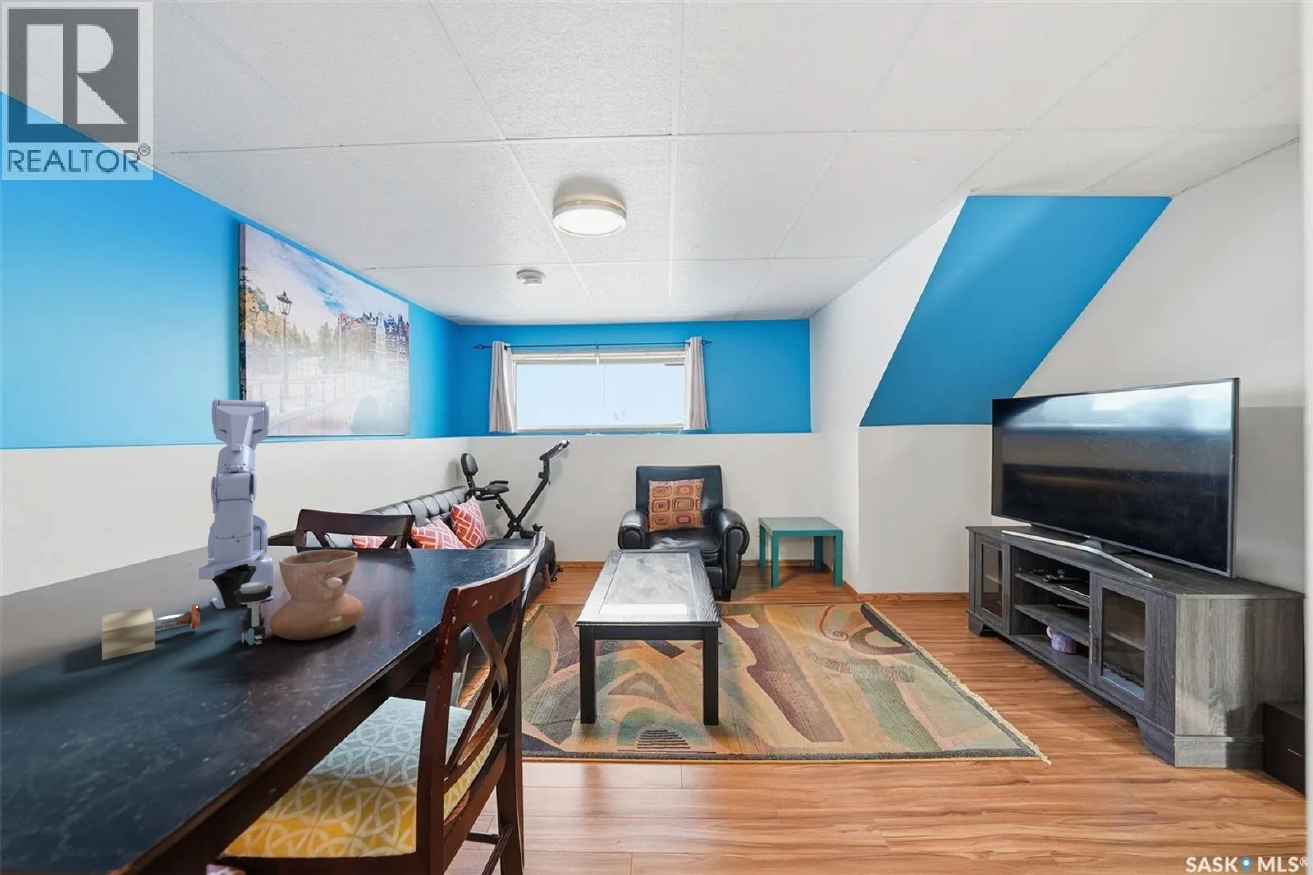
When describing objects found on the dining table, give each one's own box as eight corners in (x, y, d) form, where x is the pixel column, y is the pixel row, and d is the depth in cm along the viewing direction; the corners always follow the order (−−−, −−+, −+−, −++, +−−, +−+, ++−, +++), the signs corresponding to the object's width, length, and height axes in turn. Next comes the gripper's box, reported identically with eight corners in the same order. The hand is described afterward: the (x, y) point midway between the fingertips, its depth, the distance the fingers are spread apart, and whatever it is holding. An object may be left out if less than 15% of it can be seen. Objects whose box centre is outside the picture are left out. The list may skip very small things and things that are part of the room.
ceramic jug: (378, 632, 94) (380, 555, 95) (285, 657, 83) (286, 570, 83) (342, 611, 106) (343, 542, 106) (255, 630, 95) (257, 554, 95)
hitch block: (150, 632, 93) (150, 607, 93) (154, 648, 86) (154, 621, 86) (101, 642, 88) (101, 615, 88) (102, 660, 81) (102, 631, 81)
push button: (277, 642, 89) (278, 585, 89) (238, 652, 85) (239, 592, 85) (267, 632, 94) (268, 578, 94) (230, 640, 90) (231, 584, 89)
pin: (196, 624, 95) (196, 601, 95) (200, 631, 92) (200, 607, 92) (101, 643, 86) (101, 618, 86) (102, 651, 83) (102, 624, 83)
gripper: (238, 528, 104) (237, 594, 104) (179, 544, 90) (179, 621, 90) (275, 528, 105) (274, 594, 105) (223, 543, 90) (223, 620, 90)
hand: (233, 606), depth 97 cm, fingers closed
